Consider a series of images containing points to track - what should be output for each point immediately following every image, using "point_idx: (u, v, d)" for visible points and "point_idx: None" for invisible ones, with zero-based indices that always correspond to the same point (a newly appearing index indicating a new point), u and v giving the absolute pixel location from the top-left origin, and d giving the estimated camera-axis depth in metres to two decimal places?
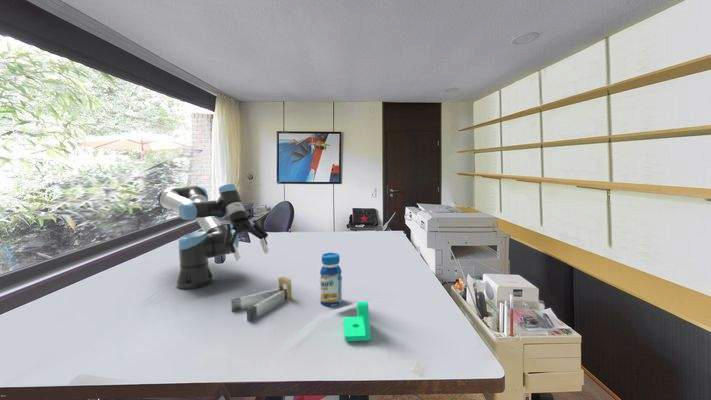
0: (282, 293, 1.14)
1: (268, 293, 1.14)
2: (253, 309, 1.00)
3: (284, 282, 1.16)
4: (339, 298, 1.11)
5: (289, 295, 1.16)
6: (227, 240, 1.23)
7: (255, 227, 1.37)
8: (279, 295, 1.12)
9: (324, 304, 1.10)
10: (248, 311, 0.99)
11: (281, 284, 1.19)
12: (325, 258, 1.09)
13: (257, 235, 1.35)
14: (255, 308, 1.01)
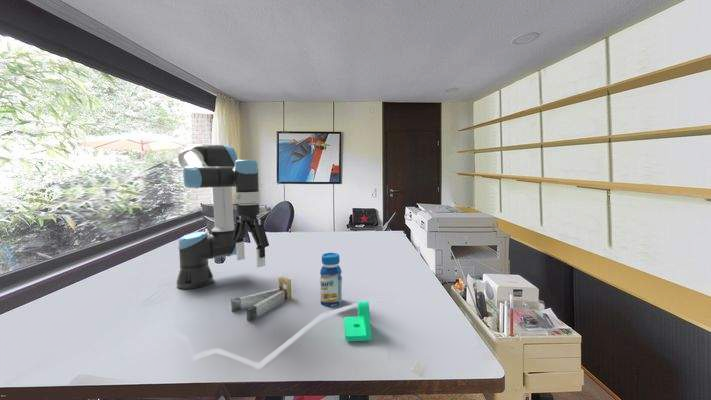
0: (282, 293, 1.14)
1: (268, 293, 1.14)
2: (253, 309, 1.00)
3: (284, 282, 1.16)
4: (339, 298, 1.11)
5: (289, 295, 1.16)
6: (233, 236, 1.09)
7: None
8: (279, 295, 1.12)
9: (324, 304, 1.10)
10: (248, 311, 0.99)
11: (281, 284, 1.19)
12: (325, 258, 1.09)
13: None
14: (255, 308, 1.01)
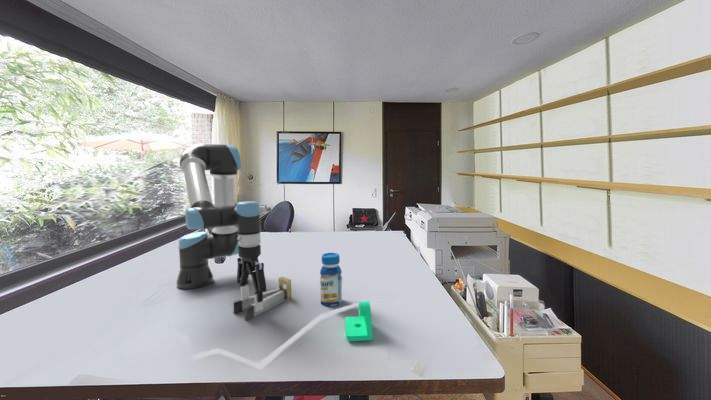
0: (281, 293, 1.14)
1: (269, 294, 1.13)
2: (250, 308, 1.01)
3: (284, 282, 1.16)
4: (339, 298, 1.11)
5: (289, 295, 1.16)
6: (237, 279, 1.09)
7: None
8: (278, 295, 1.12)
9: (324, 304, 1.10)
10: (245, 310, 1.00)
11: (281, 284, 1.19)
12: (325, 258, 1.09)
13: None
14: (252, 307, 1.02)
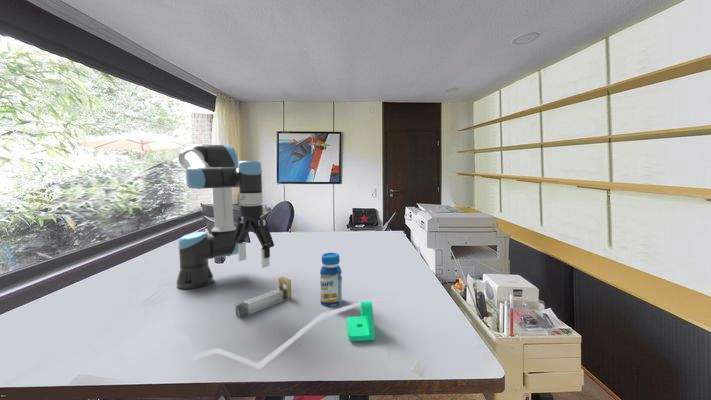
0: (280, 293, 1.14)
1: None
2: (244, 306, 1.02)
3: (284, 282, 1.16)
4: (339, 298, 1.11)
5: (289, 295, 1.16)
6: (235, 237, 1.09)
7: None
8: (275, 294, 1.12)
9: (324, 304, 1.10)
10: (239, 308, 1.02)
11: (281, 284, 1.19)
12: (325, 258, 1.09)
13: None
14: (246, 305, 1.03)
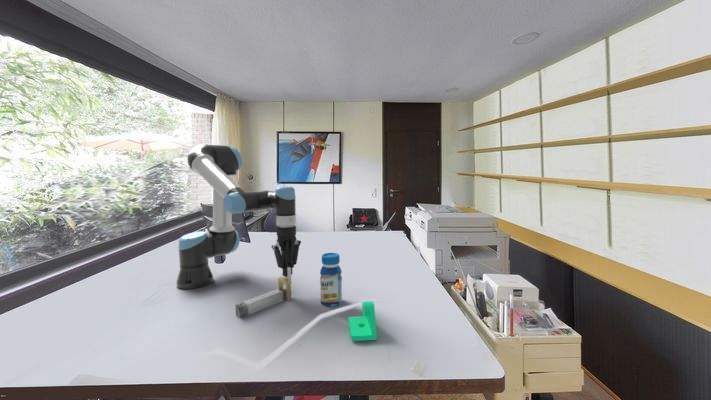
0: (280, 293, 1.14)
1: None
2: (244, 306, 1.02)
3: (284, 282, 1.15)
4: (339, 298, 1.11)
5: (289, 295, 1.16)
6: (282, 264, 1.14)
7: (294, 247, 1.20)
8: (275, 294, 1.12)
9: (324, 304, 1.10)
10: (239, 308, 1.02)
11: (281, 284, 1.18)
12: (325, 258, 1.09)
13: (288, 259, 1.18)
14: (246, 305, 1.03)
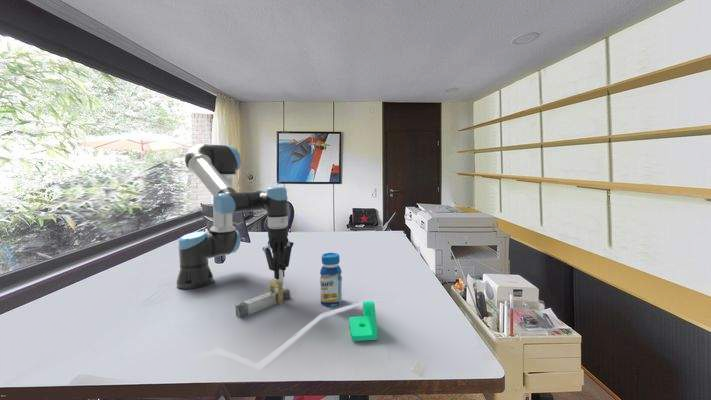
0: None
1: None
2: (244, 306, 1.02)
3: (275, 285, 1.12)
4: (339, 298, 1.11)
5: (280, 298, 1.13)
6: (273, 266, 1.11)
7: (286, 249, 1.17)
8: (275, 294, 1.12)
9: (324, 304, 1.10)
10: (239, 308, 1.02)
11: (272, 287, 1.16)
12: (325, 258, 1.09)
13: (280, 261, 1.15)
14: (246, 305, 1.03)
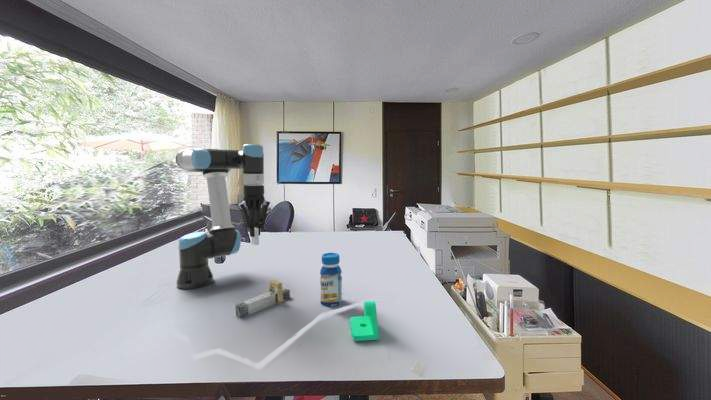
0: None
1: None
2: (244, 306, 1.02)
3: (275, 285, 1.12)
4: (339, 298, 1.11)
5: (280, 299, 1.13)
6: (248, 223, 1.12)
7: (263, 208, 1.18)
8: (275, 294, 1.12)
9: (324, 304, 1.10)
10: (239, 308, 1.02)
11: (272, 287, 1.15)
12: (325, 258, 1.09)
13: (256, 219, 1.16)
14: (246, 305, 1.03)
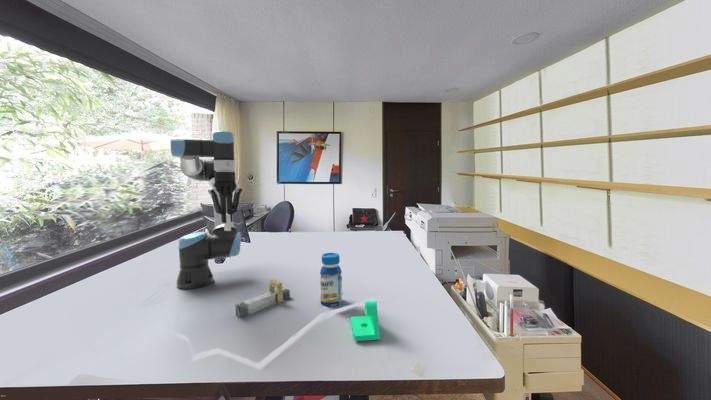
0: None
1: None
2: (244, 306, 1.02)
3: (275, 285, 1.12)
4: (339, 298, 1.11)
5: (280, 299, 1.13)
6: (219, 209, 1.14)
7: (235, 195, 1.19)
8: (275, 294, 1.12)
9: (324, 304, 1.10)
10: (239, 308, 1.02)
11: (272, 287, 1.15)
12: (325, 258, 1.09)
13: (228, 205, 1.17)
14: (246, 305, 1.03)
